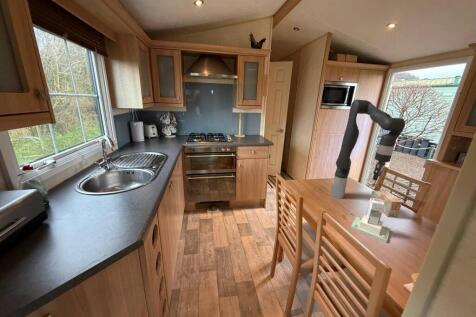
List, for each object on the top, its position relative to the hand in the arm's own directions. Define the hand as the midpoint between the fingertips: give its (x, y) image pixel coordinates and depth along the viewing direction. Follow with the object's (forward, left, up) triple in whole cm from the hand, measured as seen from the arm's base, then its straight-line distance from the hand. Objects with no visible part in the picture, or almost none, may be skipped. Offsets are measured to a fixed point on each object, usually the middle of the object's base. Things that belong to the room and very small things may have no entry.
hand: (376, 178), depth 116 cm
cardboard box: (+6, +25, -31) cm, 40 cm away
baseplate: (+4, -9, -30) cm, 32 cm away
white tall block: (+4, -9, -25) cm, 27 cm away
